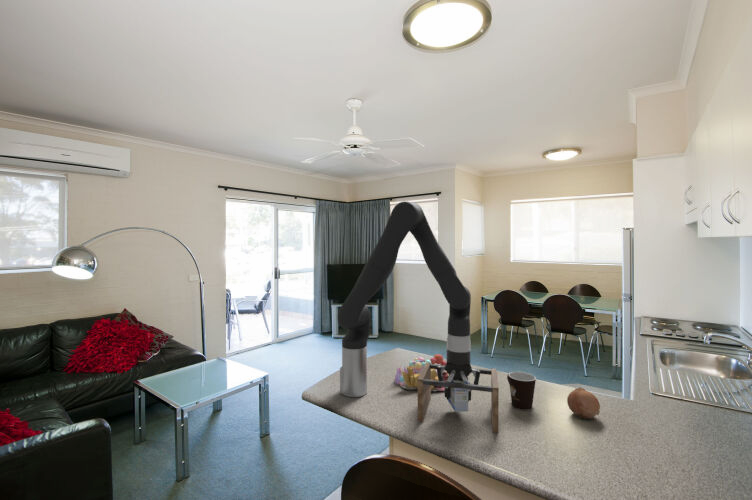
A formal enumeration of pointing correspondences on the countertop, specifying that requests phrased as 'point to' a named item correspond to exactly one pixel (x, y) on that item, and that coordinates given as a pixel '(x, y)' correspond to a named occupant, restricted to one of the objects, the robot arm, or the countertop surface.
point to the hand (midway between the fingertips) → (457, 399)
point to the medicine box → (458, 398)
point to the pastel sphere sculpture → (414, 370)
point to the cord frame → (426, 383)
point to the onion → (583, 403)
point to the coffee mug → (521, 389)
